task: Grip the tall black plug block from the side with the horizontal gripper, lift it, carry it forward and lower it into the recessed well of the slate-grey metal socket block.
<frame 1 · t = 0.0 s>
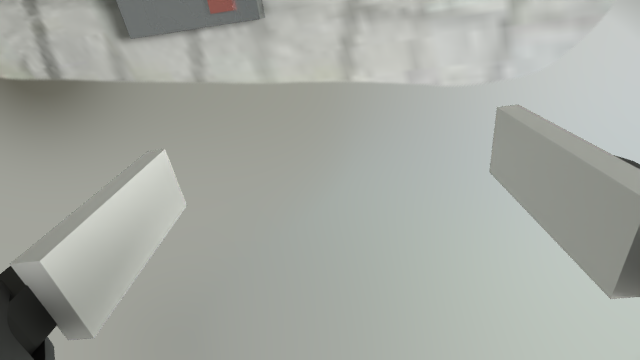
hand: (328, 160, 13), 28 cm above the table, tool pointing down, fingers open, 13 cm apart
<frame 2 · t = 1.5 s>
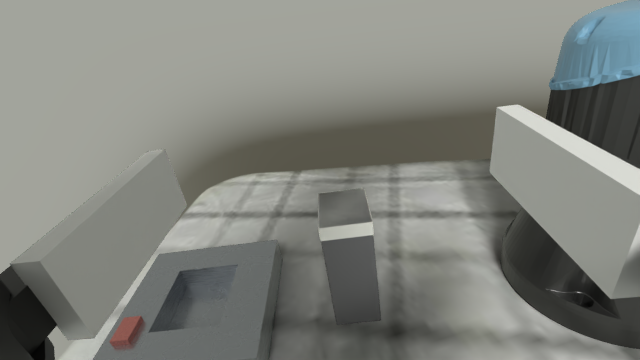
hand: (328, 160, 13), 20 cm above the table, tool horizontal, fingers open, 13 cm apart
socket block: (207, 316, 33), on the table
plug: (356, 300, 32), on the table
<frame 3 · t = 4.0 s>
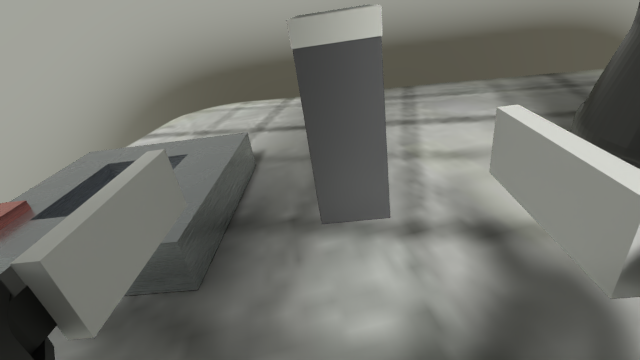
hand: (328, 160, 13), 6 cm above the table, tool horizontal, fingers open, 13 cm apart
socket block: (137, 220, 23), on the table
plug: (353, 198, 21), on the table
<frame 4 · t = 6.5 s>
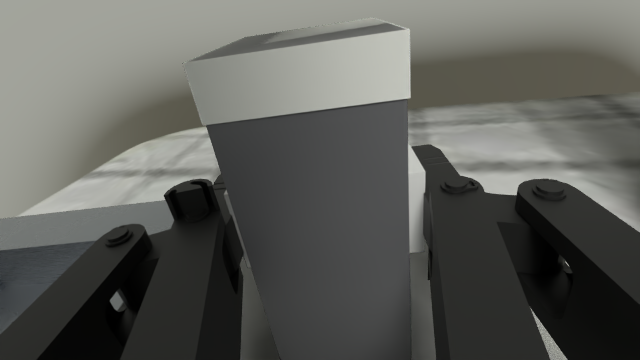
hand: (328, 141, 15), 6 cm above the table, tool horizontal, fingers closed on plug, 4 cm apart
socket block: (7, 354, 14), on the table
plug: (347, 329, 13), on the table, touching gripper
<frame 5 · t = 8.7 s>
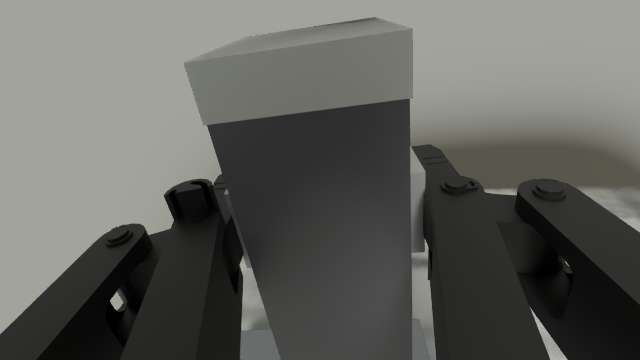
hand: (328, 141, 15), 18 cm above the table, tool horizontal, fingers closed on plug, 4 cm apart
plug: (348, 330, 13), point 12 cm above the table, touching gripper
when the fingers open (9 cm above the table, at t = 11.1 s): plug drops 2 cm, resting on socket block.
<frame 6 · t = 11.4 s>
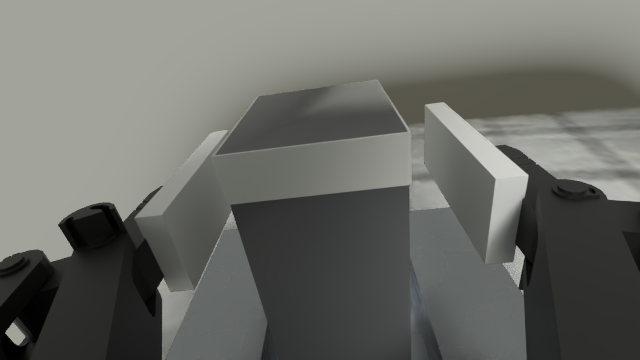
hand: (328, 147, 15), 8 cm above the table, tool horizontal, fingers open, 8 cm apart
plug: (351, 359, 14), point 1 cm above the table, touching socket block
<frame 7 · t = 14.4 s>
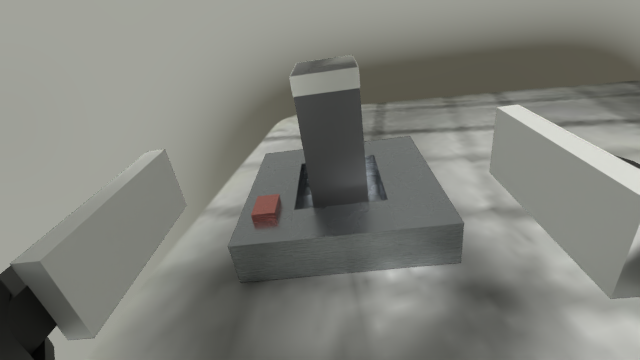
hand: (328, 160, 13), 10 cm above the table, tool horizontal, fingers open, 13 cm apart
socket block: (342, 211, 27), on the table
plug: (342, 205, 27), point 1 cm above the table, touching socket block
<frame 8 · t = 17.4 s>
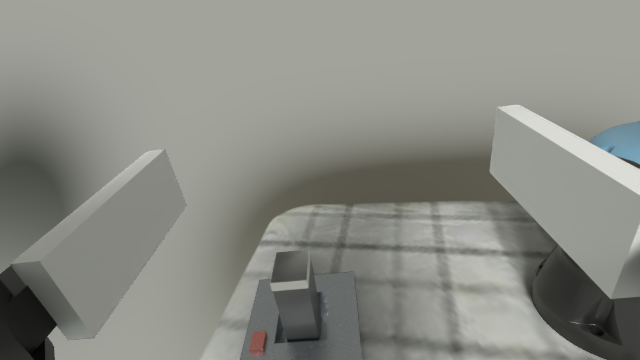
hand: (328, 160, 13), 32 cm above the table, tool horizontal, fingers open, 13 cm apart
socket block: (306, 330, 44), on the table
plug: (305, 328, 43), point 1 cm above the table, touching socket block
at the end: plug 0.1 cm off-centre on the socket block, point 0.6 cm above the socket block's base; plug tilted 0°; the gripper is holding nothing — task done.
